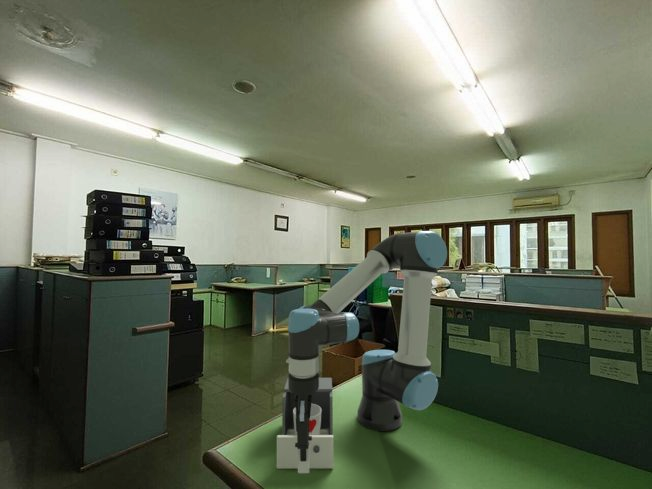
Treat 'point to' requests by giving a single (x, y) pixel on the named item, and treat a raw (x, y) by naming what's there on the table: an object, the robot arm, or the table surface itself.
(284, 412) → the housing
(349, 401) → the table surface
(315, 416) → the cup
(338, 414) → the table surface
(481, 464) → the table surface
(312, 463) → the white drawer
